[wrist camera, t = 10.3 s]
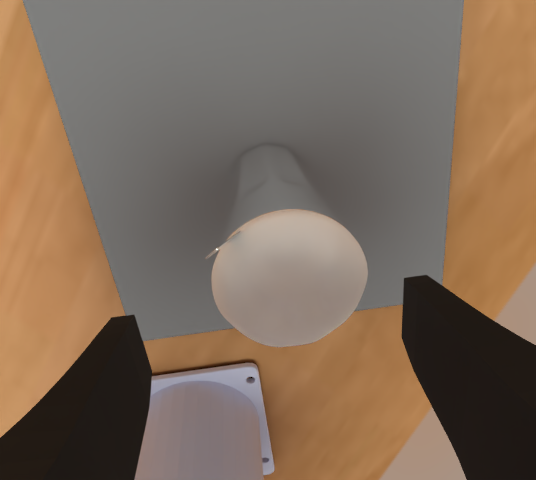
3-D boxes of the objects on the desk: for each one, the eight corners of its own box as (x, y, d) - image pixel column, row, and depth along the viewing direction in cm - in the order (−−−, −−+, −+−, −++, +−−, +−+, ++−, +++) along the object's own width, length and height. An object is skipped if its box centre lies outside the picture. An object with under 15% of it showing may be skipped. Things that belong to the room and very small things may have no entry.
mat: (435, 290, 26) (440, 298, 25) (137, 332, 26) (134, 342, 25) (459, -60, 18) (468, -62, 17) (29, -4, 18) (22, -3, 17)
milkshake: (257, 89, 19) (283, 188, 11) (340, 179, 22) (419, 322, 13) (179, 165, 21) (146, 309, 12) (265, 242, 23) (290, 412, 14)
